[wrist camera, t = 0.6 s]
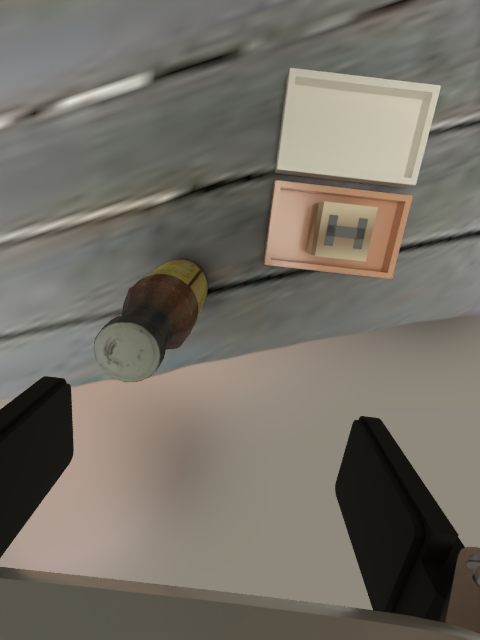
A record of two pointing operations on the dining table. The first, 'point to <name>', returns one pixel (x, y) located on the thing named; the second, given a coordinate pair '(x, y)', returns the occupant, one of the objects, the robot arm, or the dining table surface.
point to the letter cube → (341, 230)
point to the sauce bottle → (152, 321)
